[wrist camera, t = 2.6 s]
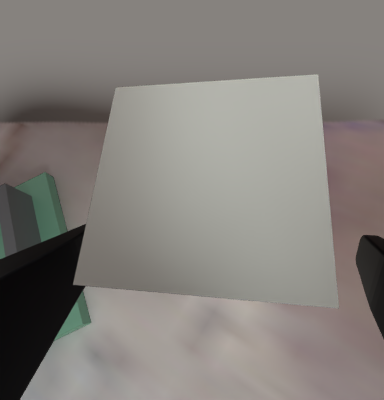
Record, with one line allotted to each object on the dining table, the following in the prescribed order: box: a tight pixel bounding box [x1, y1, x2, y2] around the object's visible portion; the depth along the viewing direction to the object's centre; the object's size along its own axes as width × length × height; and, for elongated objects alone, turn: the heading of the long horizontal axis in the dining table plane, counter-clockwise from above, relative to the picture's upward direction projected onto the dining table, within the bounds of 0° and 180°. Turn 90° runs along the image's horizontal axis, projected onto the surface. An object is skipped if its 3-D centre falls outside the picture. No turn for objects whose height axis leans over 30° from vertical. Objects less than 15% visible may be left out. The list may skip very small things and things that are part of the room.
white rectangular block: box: [73, 74, 339, 309], centre depth 12 cm, size 5×5×13 cm
